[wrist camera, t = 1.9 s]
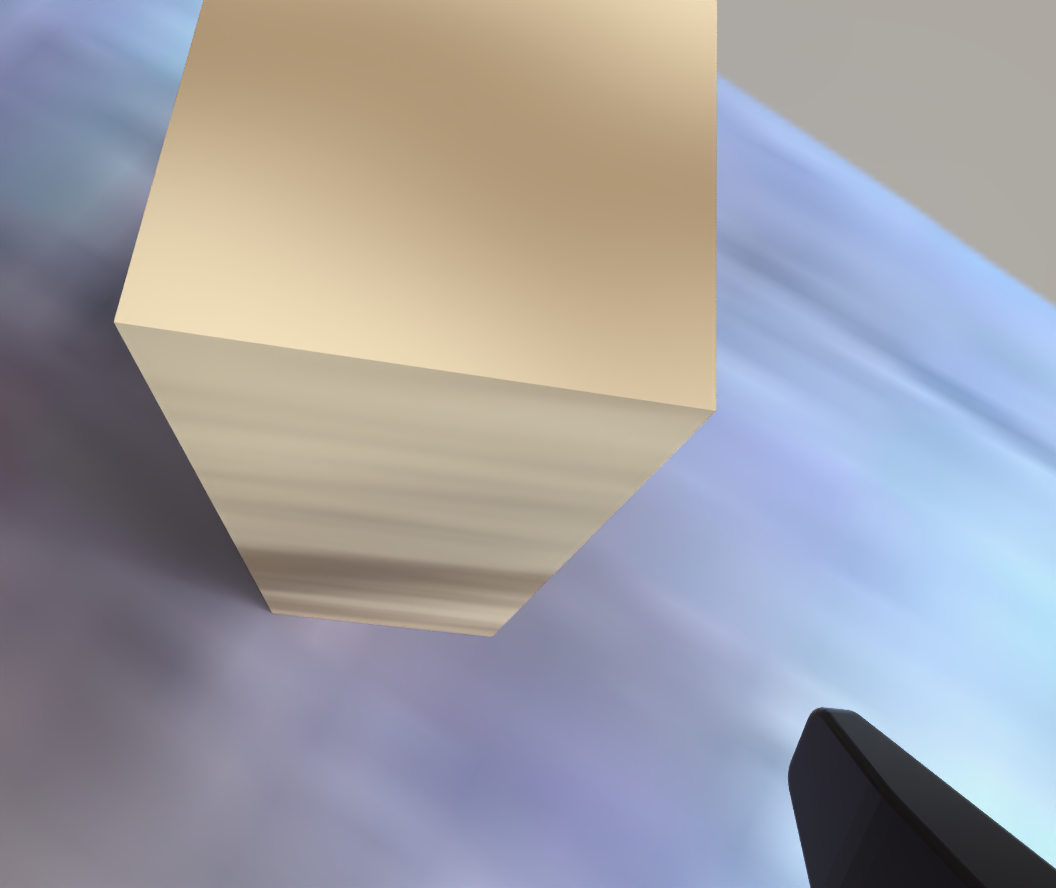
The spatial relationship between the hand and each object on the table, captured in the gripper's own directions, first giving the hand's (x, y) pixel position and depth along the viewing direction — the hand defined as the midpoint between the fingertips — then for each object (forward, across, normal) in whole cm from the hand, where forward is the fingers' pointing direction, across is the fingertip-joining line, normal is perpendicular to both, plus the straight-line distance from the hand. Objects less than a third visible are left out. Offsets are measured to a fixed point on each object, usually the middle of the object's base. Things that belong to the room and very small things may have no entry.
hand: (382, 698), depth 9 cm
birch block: (+12, 0, +5) cm, 13 cm away
